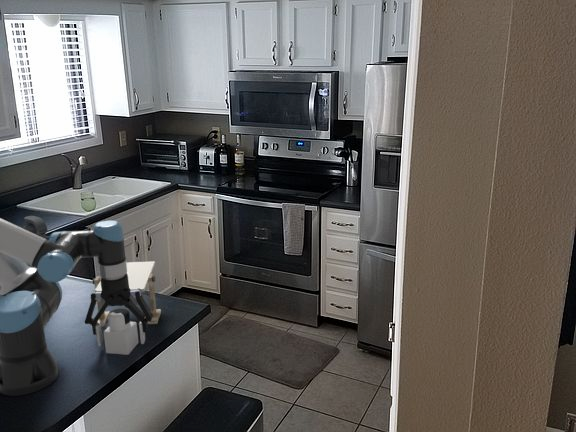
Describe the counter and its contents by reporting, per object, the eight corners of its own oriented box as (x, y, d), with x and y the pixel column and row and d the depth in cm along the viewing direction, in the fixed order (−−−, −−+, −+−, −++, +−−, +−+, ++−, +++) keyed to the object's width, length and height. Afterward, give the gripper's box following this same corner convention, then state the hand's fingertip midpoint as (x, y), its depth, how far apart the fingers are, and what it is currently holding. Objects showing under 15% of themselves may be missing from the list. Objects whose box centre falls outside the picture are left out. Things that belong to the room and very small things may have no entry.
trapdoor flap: (145, 304, 171) (143, 289, 169) (96, 306, 170) (94, 291, 168) (156, 275, 190) (154, 261, 189) (112, 277, 189) (110, 263, 188)
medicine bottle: (117, 341, 166) (112, 305, 162) (139, 342, 165) (135, 306, 161) (105, 353, 159) (100, 316, 156) (128, 355, 158) (124, 318, 155)
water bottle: (64, 288, 203) (53, 216, 195) (40, 298, 195) (28, 224, 187) (48, 282, 208) (36, 212, 200) (24, 292, 201) (11, 219, 192)
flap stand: (157, 323, 176) (153, 281, 171) (94, 326, 175) (88, 283, 170) (161, 312, 183) (157, 271, 179) (101, 315, 182) (95, 273, 178)
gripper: (158, 268, 159) (164, 334, 166) (74, 271, 158) (84, 338, 164) (154, 278, 152) (161, 347, 159) (66, 282, 151) (76, 351, 157)
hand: (122, 342), depth 161 cm, fingers open, 12 cm apart
